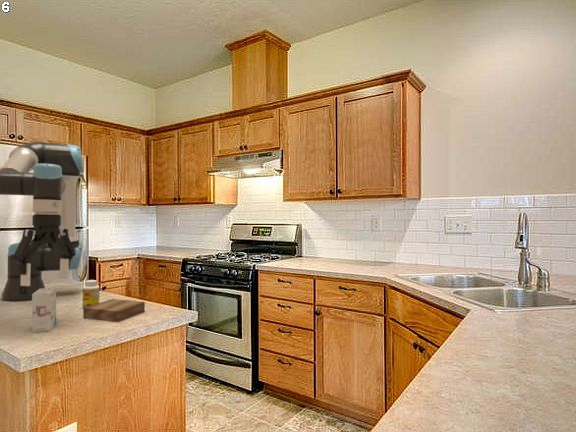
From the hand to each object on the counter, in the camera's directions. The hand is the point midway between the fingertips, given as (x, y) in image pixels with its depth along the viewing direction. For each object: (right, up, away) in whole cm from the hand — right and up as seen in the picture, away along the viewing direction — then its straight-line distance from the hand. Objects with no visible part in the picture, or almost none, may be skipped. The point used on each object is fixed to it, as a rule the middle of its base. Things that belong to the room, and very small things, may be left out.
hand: (45, 282), depth 116 cm
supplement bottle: (+1, -14, +25) cm, 29 cm away
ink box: (0, -15, 0) cm, 15 cm away
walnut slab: (+14, -15, +16) cm, 26 cm away
